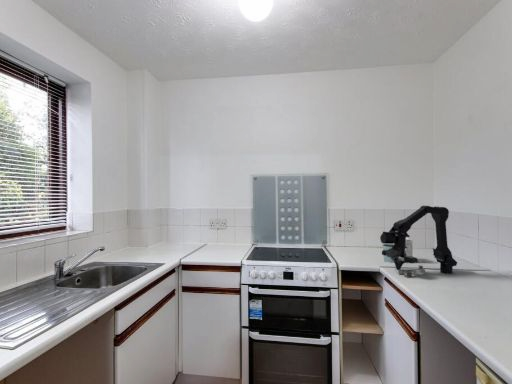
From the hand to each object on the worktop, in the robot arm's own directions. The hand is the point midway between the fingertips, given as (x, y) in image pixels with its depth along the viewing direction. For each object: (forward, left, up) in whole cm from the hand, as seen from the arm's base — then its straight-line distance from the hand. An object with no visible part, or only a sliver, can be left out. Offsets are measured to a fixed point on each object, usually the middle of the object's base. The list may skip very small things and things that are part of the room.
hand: (397, 270), depth 145 cm
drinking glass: (-19, -19, -3) cm, 27 cm away
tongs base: (-6, +3, -3) cm, 7 cm away
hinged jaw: (-5, +3, -1) cm, 6 cm away
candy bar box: (-30, -17, -3) cm, 35 cm away
